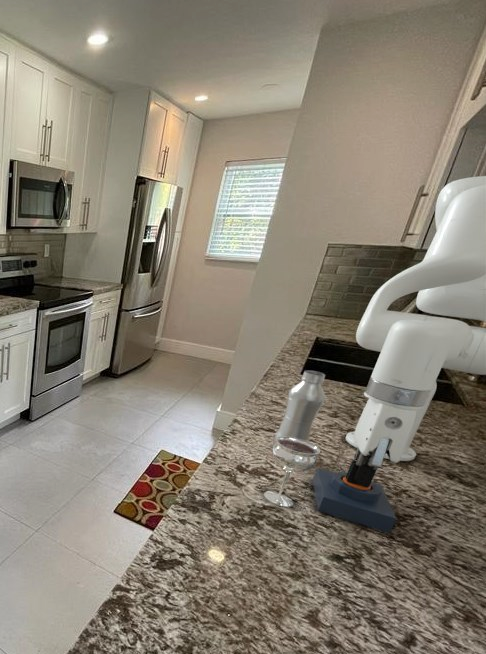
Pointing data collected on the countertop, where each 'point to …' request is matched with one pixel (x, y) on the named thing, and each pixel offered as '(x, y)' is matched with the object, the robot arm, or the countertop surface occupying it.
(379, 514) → the button base
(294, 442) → the wineglass
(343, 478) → the orange button cap
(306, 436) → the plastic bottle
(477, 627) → the countertop surface
